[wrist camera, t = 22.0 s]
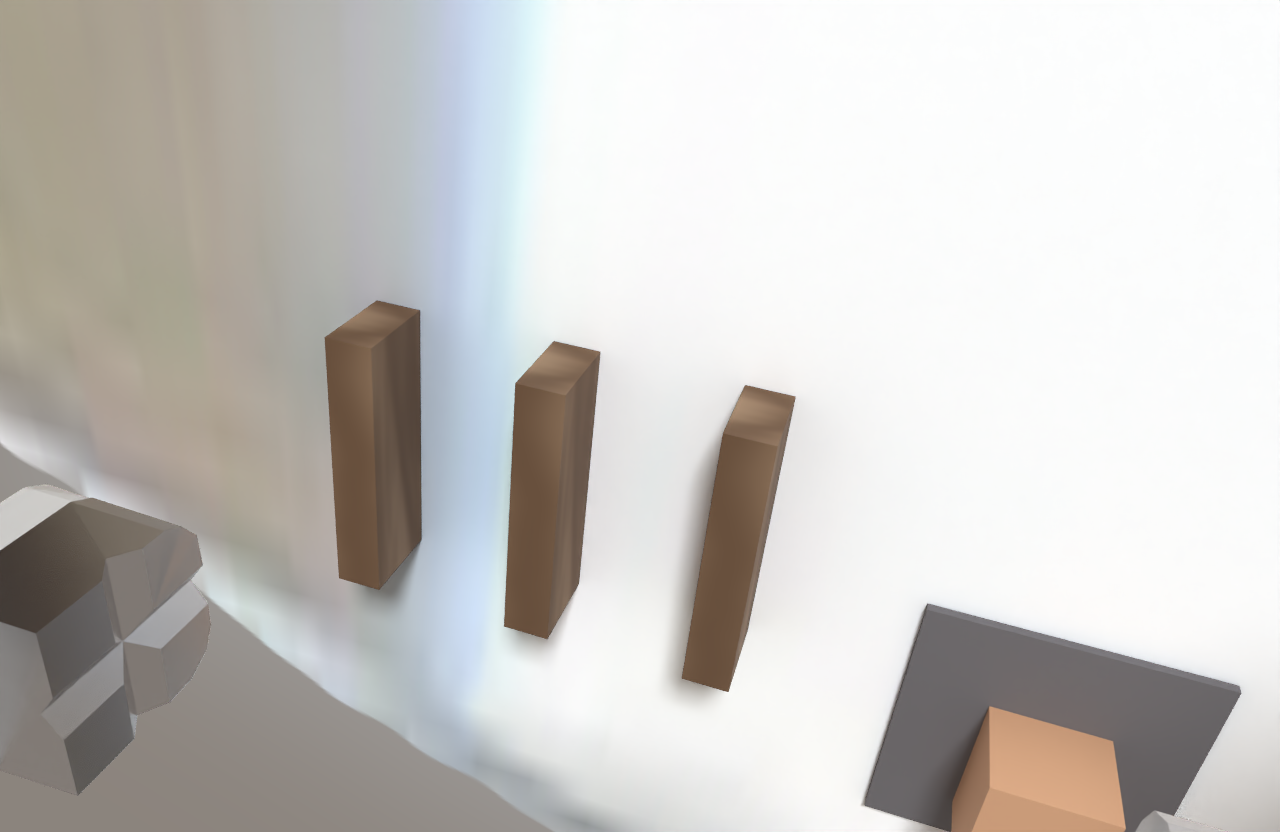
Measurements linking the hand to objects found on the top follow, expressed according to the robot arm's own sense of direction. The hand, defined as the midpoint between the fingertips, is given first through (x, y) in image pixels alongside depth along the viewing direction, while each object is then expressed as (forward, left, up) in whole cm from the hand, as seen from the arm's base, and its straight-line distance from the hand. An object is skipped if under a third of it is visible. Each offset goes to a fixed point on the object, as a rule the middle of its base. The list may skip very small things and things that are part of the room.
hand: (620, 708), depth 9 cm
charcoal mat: (-12, +26, -29) cm, 41 cm away
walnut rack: (+10, +18, -29) cm, 36 cm away
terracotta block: (-12, +27, -29) cm, 41 cm away
